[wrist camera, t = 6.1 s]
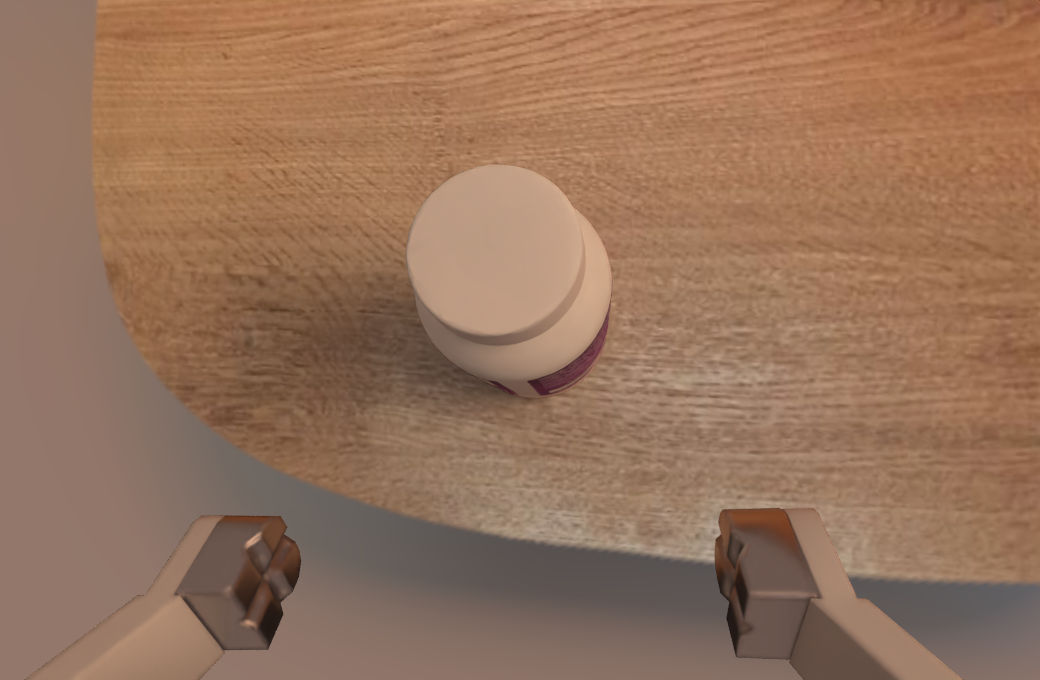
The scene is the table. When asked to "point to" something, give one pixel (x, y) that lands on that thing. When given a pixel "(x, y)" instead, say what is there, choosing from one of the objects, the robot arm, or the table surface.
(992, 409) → the table surface
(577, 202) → the table surface
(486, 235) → the pill bottle
